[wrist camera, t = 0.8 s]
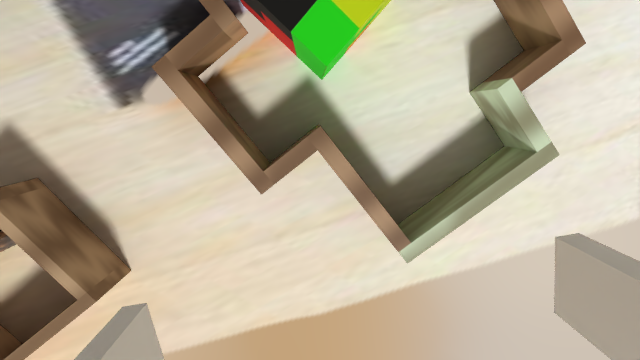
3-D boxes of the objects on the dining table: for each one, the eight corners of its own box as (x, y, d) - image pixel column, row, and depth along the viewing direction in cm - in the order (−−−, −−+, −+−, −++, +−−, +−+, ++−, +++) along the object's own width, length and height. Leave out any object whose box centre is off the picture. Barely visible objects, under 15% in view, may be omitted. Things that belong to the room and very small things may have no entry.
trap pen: (150, 43, 31) (120, 30, 26) (404, -185, 28) (424, -248, 23) (348, 276, 37) (353, 301, 32) (577, 109, 34) (622, 109, 29)
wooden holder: (-73, 275, 35) (-150, 307, 29) (37, 178, 33) (-21, 192, 28) (23, 356, 38) (-30, 401, 32) (131, 270, 36) (96, 301, 30)
